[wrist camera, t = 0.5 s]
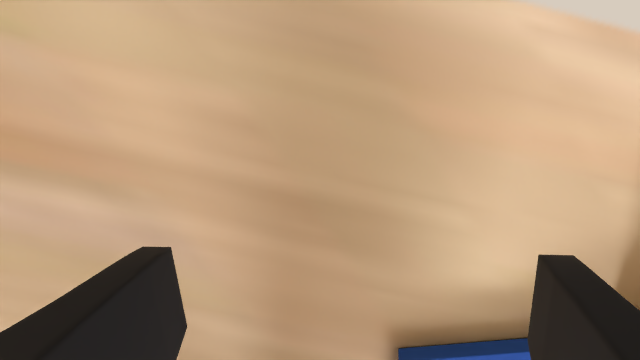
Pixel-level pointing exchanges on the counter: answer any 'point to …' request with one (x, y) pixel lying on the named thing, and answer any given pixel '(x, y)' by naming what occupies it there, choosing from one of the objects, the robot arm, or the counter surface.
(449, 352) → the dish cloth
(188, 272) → the counter surface
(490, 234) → the counter surface
